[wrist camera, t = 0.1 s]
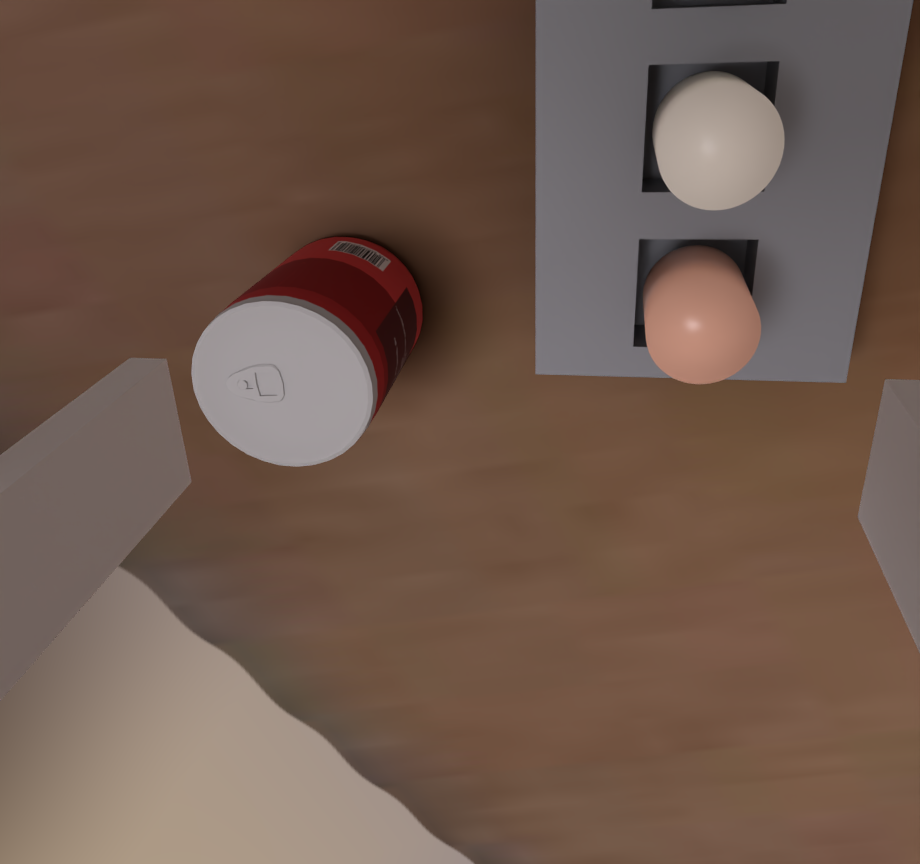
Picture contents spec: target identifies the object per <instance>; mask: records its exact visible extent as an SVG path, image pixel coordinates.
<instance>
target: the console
mask: <svg viewBox="0 0 920 864" xmlns="http://www.w3.org/2000/svg"><path fill="white" fill-rule="evenodd" d="M912 5H913V0H536V374H548V375H584V376H620V377H657V378H672V377H670V376H669V375H667V374H666V373H664V372H663V371H662V370H661V369H660V368H659V367H658V366H657V365H656V364H655V362H654V361H653V359H652V357H651V355H650V353H649V351H648V347H647V343H646V334H645V321H644V308H643V287H644V284H645V280H646V278H647V275H648V274H649V272H650V270H651V269H652V267H653V266H654V265H655V264H656V263H657V262H658V261H659V260H660V259H661V258H662V257H663V256H665V255H666V254H668V253H669V252H671V251H673V250H676V249H678V248H681V247H685V246H690V245H704V246H709V247H713V248H716V249H718V250H720V251H722V252H724V253H725V254H727V255H728V256H729V257H730V258H731V259H733V261H734V262H735V263H736V264H737V266H738V267H739V269H740V271H741V273H742V276H743V278H744V280H745V282H746V285H747V287H748V289H749V292H750V294H751V296H752V299H753V301H754V303H755V305H756V308H757V310H758V313H759V316H760V320H761V336H760V341H759V344H758V347H757V349H756V351H755V353H754V355H753V356H752V358H751V359H750V361H749V362H748V363H747V364H746V365H745V366H744V367H743V368H742V369H741V370H739V371H738V372H737V373H735V374H734V375H732V376H730V377H728V378H726V379H729V380H765V381H801V382H837V383H846V379H847V373H848V368H849V362H850V356H851V351H852V345H853V339H854V334H855V328H856V322H857V317H858V311H859V305H860V300H861V294H862V288H863V283H864V277H865V271H866V266H867V260H868V255H869V249H870V243H871V238H872V232H873V226H874V221H875V215H876V209H877V204H878V198H879V192H880V187H881V181H882V175H883V170H884V164H885V158H886V153H887V147H888V141H889V136H890V130H891V124H892V119H893V113H894V107H895V102H896V96H897V90H898V85H899V79H900V73H901V68H902V62H903V56H904V51H905V45H906V39H907V34H908V28H909V22H910V17H911V11H912ZM706 71H721V72H727V73H730V74H733V75H735V76H737V77H739V78H741V79H742V80H744V81H745V82H746V83H748V84H749V85H751V86H752V87H753V88H755V89H756V90H757V91H759V92H760V93H762V94H763V95H764V96H766V97H767V98H768V99H769V100H770V101H771V103H772V104H773V105H774V107H775V108H776V110H777V112H778V113H779V115H780V118H781V121H782V124H783V129H784V138H785V141H784V151H783V156H782V159H781V162H780V165H779V167H778V169H777V171H776V173H775V175H774V177H773V178H772V180H771V181H770V182H769V183H768V185H767V186H766V187H765V188H764V189H763V190H762V191H761V192H760V193H759V194H757V195H756V196H755V197H754V198H752V199H750V200H749V201H747V202H745V203H743V204H741V205H739V206H736V207H733V208H730V209H725V210H704V209H698V208H695V207H692V206H690V205H688V204H686V203H684V202H683V201H681V200H680V199H678V198H677V197H676V196H675V195H674V194H673V193H672V192H671V191H670V190H669V189H668V187H667V186H666V184H665V182H664V181H663V179H662V176H661V174H660V171H659V167H658V163H657V158H656V154H655V150H654V145H653V138H652V128H653V121H654V117H655V114H656V111H657V109H658V107H659V105H660V103H661V101H662V100H663V98H664V97H665V95H666V94H667V93H668V92H669V91H670V90H671V89H672V88H673V87H674V86H675V85H676V84H678V83H679V82H680V81H682V80H683V79H685V78H687V77H689V76H691V75H694V74H697V73H701V72H706Z"/></svg>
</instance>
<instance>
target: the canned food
mask: <svg viewBox="0 0 920 864" xmlns="http://www.w3.org/2000/svg"><path fill="white" fill-rule="evenodd" d="M422 321H423V315H422V302H421V298H420V294H419V290H418V287H417V285H416V283H415V281H414V279H413V276H412V275H411V273H410V272H409V271H408V269H407V268H406V266H405V265H404V264H403V263H402V262H401V261H400V260H399V259H398V258H397V257H396V256H395V255H394V254H392V253H391V252H389V251H388V250H386V249H385V248H383V247H382V246H379V245H377V244H375V243H372V242H370V241H367V240H362V239H358V238H352V237H331V238H325V239H320V240H318V241H315V242H312V243H310V244H307V245H306V246H304V247H303V248H301V249H300V250H298V251H297V252H295V253H294V254H293V255H291V256H290V257H289V258H288V259H286V260H285V261H284V262H283V263H281V264H280V265H279V266H278V267H276V268H275V269H274V270H273V271H271V272H270V273H269V274H267V275H266V276H265V277H264V278H262V279H261V280H260V281H259V282H257V283H256V284H255V285H254V286H252V287H251V288H250V289H248V290H247V291H246V292H245V293H243V294H242V295H241V296H240V297H238V298H237V299H236V300H235V301H233V302H232V303H231V304H230V305H229V306H228V307H227V308H225V309H224V310H223V311H222V312H220V313H219V314H218V316H217V317H216V318H215V319H214V320H213V321H212V322H211V323H210V324H209V325H208V327H207V328H206V329H205V330H204V332H203V334H202V335H201V337H200V339H199V341H198V342H197V345H196V348H195V351H194V355H193V358H192V381H193V387H194V392H195V394H196V397H197V400H198V403H199V405H200V407H201V409H202V411H203V412H204V414H205V416H206V417H207V419H208V421H209V422H210V423H211V424H212V425H213V427H214V428H215V429H216V430H217V431H218V433H219V434H220V435H222V436H223V437H224V438H225V439H226V440H227V441H229V442H230V443H231V444H232V445H233V446H235V447H237V448H238V449H240V450H241V451H243V452H245V453H246V454H248V455H250V456H253V457H255V458H258V459H260V460H262V461H265V462H270V463H274V464H278V465H284V466H308V465H315V464H319V463H322V462H326V461H329V460H331V459H333V458H335V457H337V456H339V455H341V454H342V453H344V452H345V451H346V450H347V449H349V448H350V447H351V446H352V445H353V444H355V442H356V441H357V440H358V439H359V438H360V437H361V436H362V434H363V433H364V432H365V430H366V429H367V428H368V426H369V425H370V423H371V421H372V419H373V418H374V416H375V415H376V413H377V412H378V410H379V408H380V406H381V405H382V403H383V401H384V399H385V397H386V396H387V394H388V392H389V390H390V388H391V387H392V385H393V383H394V381H395V380H396V378H397V376H398V374H399V372H400V371H401V369H402V367H403V365H404V363H405V362H406V360H407V358H408V356H409V355H410V353H411V351H412V349H413V347H414V346H415V343H416V341H417V339H418V337H419V334H420V331H421V326H422Z"/></svg>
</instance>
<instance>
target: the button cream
mask: <svg viewBox="0 0 920 864" xmlns="http://www.w3.org/2000/svg"><path fill="white" fill-rule="evenodd" d="M652 138H653V145H654V150H655V154H656V158H657V163H658V167H659V171H660V174H661V176H662V179H663V181H664V182H665V184H666V186H667V187H668V189H669V190H670V191H671V192H672V193H673V194H674V195H675V196H676V197H677V198H678V199H680V200H681V201H683V202H684V203H686V204H688V205H690V206H692V207H695V208H698V209H704V210H725V209H730V208H733V207H736V206H739V205H741V204H743V203H745V202H747V201H749V200H750V199H752V198H754V197H755V196H756V195H757V194H759V193H760V192H761V191H762V190H763V189H764V188H765V187H766V186H767V185H768V183H769V182H770V181H771V180H772V178H773V177H774V175H775V173H776V171H777V169H778V167H779V165H780V162H781V159H782V156H783V151H784V141H785V138H784V129H783V124H782V121H781V118H780V115H779V113H778V112H777V110H776V108H775V107H774V105H773V104H772V103H771V101H770V100H769V99H768V98H767V97H766V96H764V95H763V94H762V93H760V92H759V91H757V90H756V89H755V88H753V87H752V86H751V85H749V84H748V83H746V82H745V81H744V80H742V79H741V78H739V77H737V76H735V75H733V74H730V73H727V72H721V71H706V72H701V73H697V74H694V75H691V76H689V77H687V78H685V79H683V80H682V81H680V82H679V83H678V84H676V85H675V86H674V87H673V88H672V89H671V90H670V91H669V92H668V93H667V94H666V95H665V97H664V98H663V100H662V101H661V103H660V105H659V107H658V109H657V111H656V114H655V117H654V121H653V128H652Z"/></svg>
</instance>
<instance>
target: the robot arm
mask: <svg viewBox="0 0 920 864" xmlns="http://www.w3.org/2000/svg"><path fill="white" fill-rule="evenodd" d="M190 483H191V477H190V472H189V467H188V462H187V457H186V452H185V447H184V442H183V438H182V433H181V428H180V423H179V418H178V413H177V408H176V403H175V398H174V393H173V388H172V383H171V379H170V374H169V369H168V364H167V359H151V358H129V359H128V360H127V361H125V362H124V363H123V364H121V365H120V366H119V367H117V368H116V369H115V370H113V371H112V372H111V373H109V374H108V375H107V376H105V377H104V378H103V379H101V380H100V381H99V382H97V383H96V384H95V385H93V386H92V387H91V388H89V389H88V390H87V391H85V392H84V393H83V394H81V395H80V396H79V397H77V398H76V399H75V400H73V401H72V402H71V403H69V404H68V405H67V406H65V407H64V408H63V409H61V410H60V411H59V412H57V413H56V414H54V415H53V416H52V417H50V418H49V419H48V420H46V421H45V422H44V423H42V424H41V425H40V426H38V427H37V428H36V429H34V430H33V431H32V432H30V433H29V434H28V435H26V436H25V437H24V438H22V439H21V440H20V441H18V442H17V443H16V444H14V445H13V446H12V447H10V448H9V449H8V450H6V451H5V452H4V453H2V454H1V455H0V701H1V699H2V698H3V697H4V696H5V695H6V694H7V693H8V692H9V690H10V689H11V688H12V687H13V686H14V685H15V683H16V682H17V681H18V680H19V679H20V678H21V677H22V675H23V674H24V673H25V672H26V671H27V670H28V669H29V667H30V666H31V665H32V664H33V663H34V662H35V661H36V659H37V658H38V657H39V656H40V655H41V654H42V652H43V651H44V650H45V649H46V648H47V647H48V646H49V644H50V643H51V642H52V641H53V640H54V639H55V638H56V637H57V635H58V634H59V633H60V632H61V631H62V630H63V628H64V627H65V626H66V625H67V624H68V623H69V622H70V620H71V619H72V618H73V617H74V616H75V615H76V614H77V612H78V611H79V610H80V609H81V607H83V606H84V604H85V603H86V602H87V601H88V600H89V599H90V598H91V596H92V595H93V594H94V593H95V592H96V591H97V589H98V588H99V587H100V586H101V585H102V584H103V583H104V582H105V580H106V579H107V578H108V577H109V575H111V574H112V572H113V571H114V570H115V569H116V568H117V567H118V565H119V564H120V563H121V562H122V561H123V560H124V559H125V557H126V556H127V555H128V554H129V553H130V552H131V551H132V549H133V548H134V547H135V546H136V545H137V544H138V543H139V541H140V540H141V539H142V538H143V537H144V536H145V535H146V533H147V532H148V531H149V530H150V529H151V528H152V527H153V525H154V524H155V523H156V522H157V521H158V520H159V519H160V517H161V516H162V515H163V514H164V513H165V512H166V510H167V509H168V508H169V507H170V506H171V505H172V504H173V502H174V501H175V500H176V499H177V498H178V497H179V496H180V494H181V493H182V492H183V491H184V490H185V489H186V488H187V486H188V485H189V484H190ZM858 519H859V521H860V523H861V525H862V527H863V530H864V532H865V534H866V536H867V538H868V541H869V543H870V545H871V547H872V549H873V552H874V554H875V556H876V558H877V560H878V563H879V565H880V567H881V569H882V571H883V573H884V576H885V578H886V580H887V582H888V584H889V587H890V589H891V591H892V593H893V595H894V598H895V600H896V602H897V604H898V606H899V609H900V611H901V613H902V615H903V617H904V620H905V622H906V624H907V626H908V628H909V631H910V633H911V635H912V637H913V639H914V641H915V644H916V646H917V648H918V650H919V652H920V380H894V379H885V383H884V388H883V393H882V398H881V403H880V408H879V413H878V418H877V423H876V428H875V433H874V438H873V443H872V448H871V453H870V458H869V463H868V468H867V473H866V478H865V483H864V488H863V493H862V498H861V503H860V508H859V513H858Z"/></svg>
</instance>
